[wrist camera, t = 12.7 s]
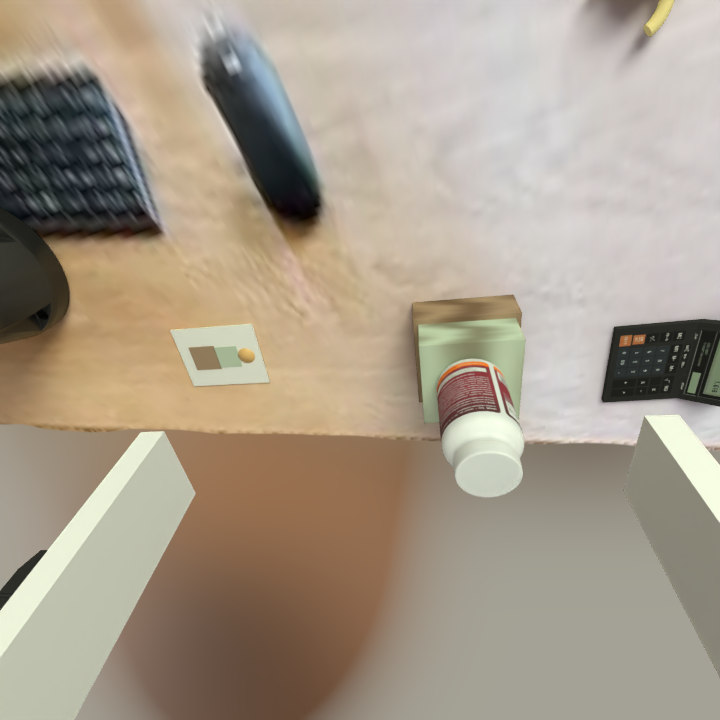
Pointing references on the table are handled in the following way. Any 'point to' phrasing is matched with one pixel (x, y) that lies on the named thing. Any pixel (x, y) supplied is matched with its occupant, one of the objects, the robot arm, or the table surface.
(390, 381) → the table surface
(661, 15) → the character toy
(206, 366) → the page
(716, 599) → the robot arm
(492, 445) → the pill bottle
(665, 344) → the calculator
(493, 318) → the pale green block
